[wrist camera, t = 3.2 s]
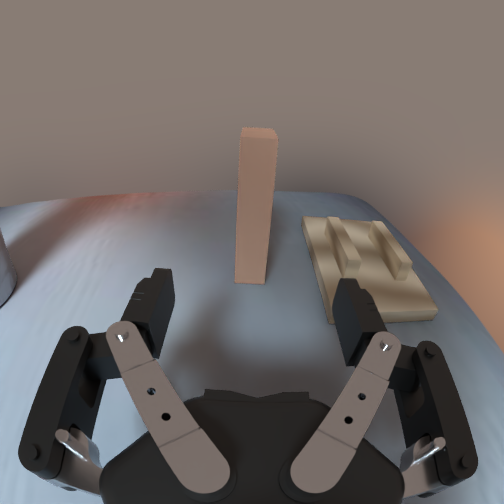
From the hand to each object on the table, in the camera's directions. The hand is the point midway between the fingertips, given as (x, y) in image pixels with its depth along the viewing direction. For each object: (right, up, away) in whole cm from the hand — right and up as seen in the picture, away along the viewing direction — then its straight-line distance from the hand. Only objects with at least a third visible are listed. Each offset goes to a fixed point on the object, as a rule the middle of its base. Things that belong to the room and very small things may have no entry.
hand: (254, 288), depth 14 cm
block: (0, 0, +13) cm, 13 cm away
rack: (+11, 0, +14) cm, 18 cm away
